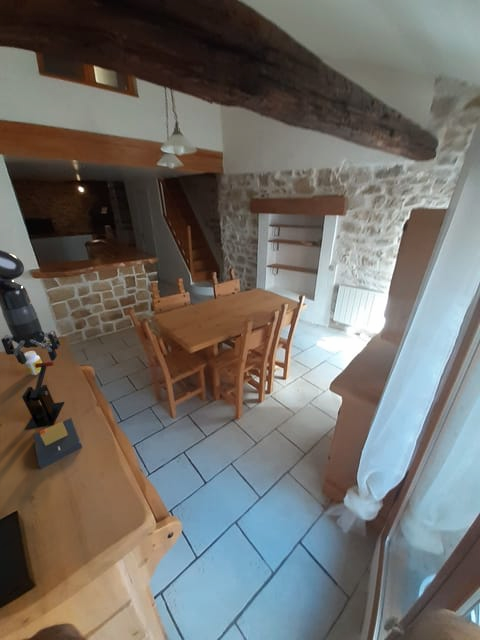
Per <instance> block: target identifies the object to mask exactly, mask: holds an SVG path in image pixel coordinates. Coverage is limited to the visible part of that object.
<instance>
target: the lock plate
mask: <svg viewBox="0 0 480 640" xmlns="http://www.w3.org/2000/svg"><path fill="white" fill-rule="evenodd" d="M62 422H63V425H64V427H65V429H66V431H67V434H68V435H67V436H65V437H63V438H61V439H59V440H57V441H55V442H53V443H51V444H49V445H47V446H45V444H44V442H43V440H42V438H41V436H40V431H39V432H37V433H35V434H33V435H32V437H33V441H34V447H35V453H36V459H37V463H38V466H39V468H40V469H41V470H43V469H45V468H46V467H48V466H50V465H52V464H54V463H55V462H57V461H60V460H61V459H64V458H65V457H67V456H69V455H71V454H72V453H74V452H76V451H78V450H80V449H82V448H83V445H82V442H81V439H80V436H79V434H78V431H77V428H76V425H75V423H74V421H73V418H72V417H70V418H68V419H65V420H63V421H62Z"/></svg>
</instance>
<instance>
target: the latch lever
mask: <svg viewBox="0 0 480 640" xmlns="http://www.w3.org/2000/svg"><path fill="white" fill-rule="evenodd" d="M54 365H55V363H54V361H46V362H42V363H37V364H35V367H36V368H39V367H41V370H40V374H38V377H37V381H36V384H35V389H34V388H33V390H31V394H30V397H29V398H30V399H31V400H33V401H36V400H39V398H38V396H37V394H38V392H39V390H40V389H41V387H42V386H43V381H44V378H45V374H46V370H47V367H52V366H54ZM39 401H40V400H39Z"/></svg>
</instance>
